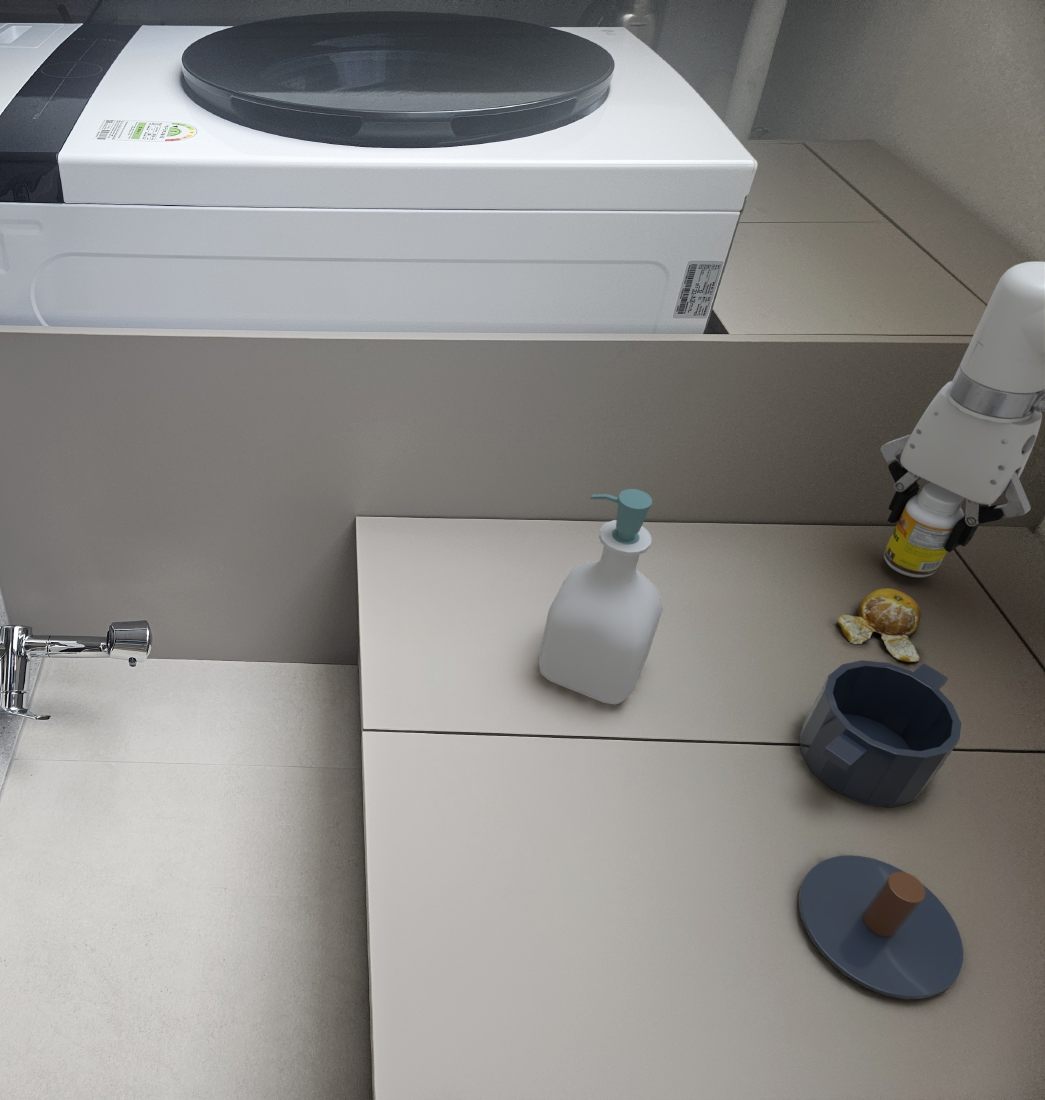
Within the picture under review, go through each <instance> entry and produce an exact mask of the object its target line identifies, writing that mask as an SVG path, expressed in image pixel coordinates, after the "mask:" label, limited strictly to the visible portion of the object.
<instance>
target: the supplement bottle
mask: <svg viewBox="0 0 1045 1100" xmlns="http://www.w3.org/2000/svg"><path fill="white" fill-rule="evenodd" d="M964 501H965V498H964V497H962V496H960V495H957V494H955V493H953V492H951V491H949V490H947V489H944V488H942V487H940V486H938V485H936V484H934V483H932V482H928V483H926V484H924V486H923V487H922V489H921V491H920V492H919V493H917V495H915V496H913V497H911V498H910V499H909V500H908V502H907V504H906V505H905V508H904V510H903V512H902V514H901V516H900V518H899V520H898V521H897V522H896V525H895V527H894V529H893V532H892V534H891V536H890V537H889V540H888V542H887V544H886V547H885V549H884V552H883V558H884V560H885V562H886V564H887V565H888V567H890V568H891V569H892V570H894V571H895V572H897V573H899V574H901V575H904V576H907V577H912V578H926V577H930V576H932V575H934V574H935V573H936V572H937V570H938V569H939V568H940V565H941V564H942V561H943V560H944V558H945V556H946V554H947V552H948V551H946V550H945V548H944V546H945V545H946V543H947V541H948V539H949V537H950V535H951V533H952V531H953V529H954V527H955V525H956V524H957V522H958V521H959V520H961V519H962V518H963V517H965V513H964V511H963V509H962V504H963V503H964Z"/></svg>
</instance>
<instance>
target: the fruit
mask: <svg viewBox="0 0 1045 1100" xmlns="http://www.w3.org/2000/svg"><path fill="white" fill-rule="evenodd" d="M921 617H922V614H921V608H920V606H919V604H918V603H917V602H916V601H915V600H914V599H913V598H912V597H911V596H910V595H909V594H906V593H905V592H903V591H900V590H897V589H895V588H888V587H886V588H880V589H875V590H873V591H872V592H871V593H868V594H867V595H866V596H865V597H864V598H863V599H862V600H861V601H860V605H859V608H858V613H857V616H854V615H849V614H842V615H840V616H839V617H838V618H837V624H838V626H840V629H841V632H842V635H843V637H845V638H846V639H847V641H848V642H849V643H850V644H853V645H862V644H863V643H864V642H866V641H869V639H871V636H872V634H873V633H874V632H875V633H878V634H880V635H881V637H880V638H881V640H882V641H883V644H884V646H885V647H886V651H888V653H889V654H890V655H891V656H892V657H893V658H895V659H896V660H899V661H902V662H910V663H912V662H915V663H916V662H919V661H920V655H919V654H918V651H917V649H916V646H915V644H913V642H911V640H910V635H912V634H914V633H915V632H916V631H917V629H918V627H919V626H920V622H921Z"/></svg>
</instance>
